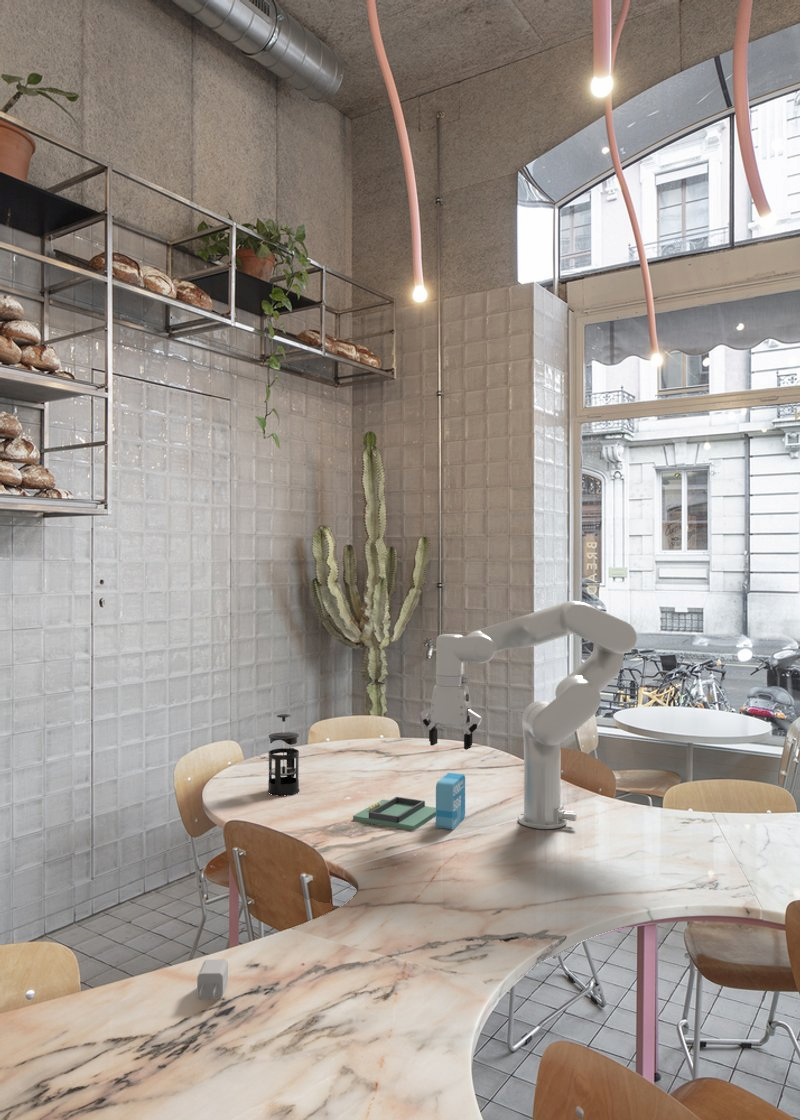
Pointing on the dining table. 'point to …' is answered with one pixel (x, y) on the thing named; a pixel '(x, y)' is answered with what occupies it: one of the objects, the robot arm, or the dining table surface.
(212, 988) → the usb wall charger
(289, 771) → the french press
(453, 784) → the data package
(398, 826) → the circuit board
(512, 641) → the robot arm
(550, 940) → the dining table surface
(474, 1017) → the dining table surface
